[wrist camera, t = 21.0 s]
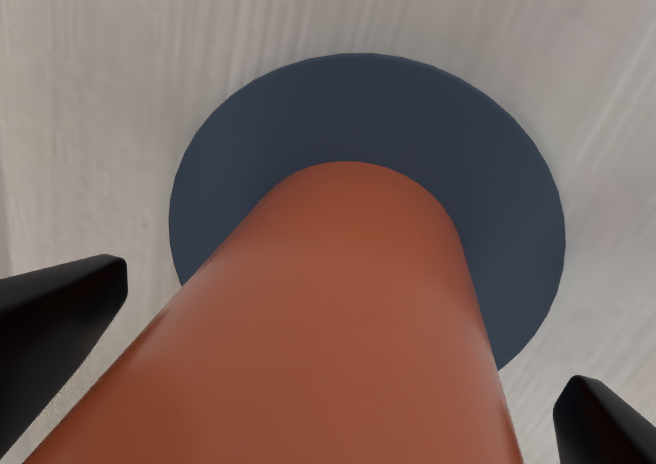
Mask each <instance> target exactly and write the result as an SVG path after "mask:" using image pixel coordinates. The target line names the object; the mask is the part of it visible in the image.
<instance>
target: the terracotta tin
mask: <svg viewBox="0 0 656 464" xmlns="http://www.w3.org/2000/svg"><path fill="white" fill-rule="evenodd" d="M22 464H524V462H523V458H522V455H521V451H520V448H519V444H518V441H517V437H516V434H515V430H514V427H513V423H512V420H511V416H510V413H509V409H508V406H507V402H506V399H505V395H504V392H503V388H502V385H501V381H500V377H499V374H498V370H497V367H496V363H495V360H494V356H493V353H492V349H491V346H490V342H489V339H488V335H487V332H486V328H485V325H484V321H483V318H482V314H481V311H480V307H479V304H478V300H477V297H476V293H475V290H474V286H473V282H472V279H471V275H470V272H469V268H468V265H467V261H466V258H465V254H464V251H463V247H462V244H461V241H460V238H459V235H458V232H457V229H456V227H455V225H454V223H453V221H452V219H451V217H450V216H449V215H448V213H447V212H446V210H445V209H444V207H443V206H442V205H441V204H440V203H439V202H438V200H437V199H436V198H435V197H434V196H433V195H432V194H431V193H430V192H428V191H427V190H426V189H425V188H423V187H422V186H421V185H420V184H418V183H417V182H415V181H413V180H412V179H410V178H408V177H407V176H405V175H403V174H401V173H398V172H396V171H394V170H392V169H389V168H386V167H382V166H379V165H376V164H370V163H364V162H356V161H338V162H327V163H323V164H318V165H314V166H310V167H308V168H305V169H303V170H300V171H297V172H296V173H294V174H292V175H290V176H288V177H286V178H285V179H283V180H282V181H281V182H279V183H278V184H277V185H275V186H274V187H273V188H272V189H271V190H270V191H269V192H268V193H267V194H266V195H265V196H264V197H263V198H262V199H261V200H260V202H259V203H258V204H257V205H256V206H255V207H254V208H253V209H252V210H251V211H250V213H249V214H248V215H247V216H246V217H245V218H244V219H243V220H242V221H241V223H240V224H239V225H238V226H237V227H236V228H235V229H234V230H233V231H232V232H231V234H230V235H229V236H228V237H227V238H226V239H225V240H224V241H223V242H222V244H221V245H220V246H219V247H218V248H217V249H216V250H215V251H214V252H213V253H212V255H211V256H210V257H209V258H208V259H207V260H206V261H205V262H204V263H203V264H202V266H201V267H200V268H199V269H198V270H197V271H196V272H195V273H194V274H193V276H192V277H191V278H190V279H189V280H188V281H187V282H186V283H185V284H184V285H183V287H182V288H181V289H180V290H179V291H178V292H177V293H176V294H175V295H174V297H173V298H172V299H171V300H170V301H169V302H168V303H167V304H166V305H165V306H164V308H163V309H162V310H161V311H160V312H159V313H158V314H157V315H156V316H155V317H154V319H153V320H152V321H151V322H150V323H149V324H148V325H147V326H146V327H145V329H144V330H143V331H142V332H141V333H140V334H139V335H138V336H137V337H136V338H135V340H134V341H133V342H132V343H131V344H130V345H129V346H128V347H127V348H126V350H125V351H124V352H123V353H122V354H121V355H120V356H119V357H118V358H117V359H116V361H115V362H114V363H113V364H112V365H111V366H110V367H109V368H108V369H107V370H106V372H105V373H104V374H103V375H102V376H101V377H100V378H99V379H98V380H97V382H96V383H95V384H94V385H93V386H92V387H91V388H90V389H89V390H88V391H87V393H86V394H85V395H84V396H83V397H82V398H81V399H80V400H79V401H78V403H77V404H76V405H75V406H74V407H73V408H72V409H71V410H70V411H69V412H68V414H67V415H66V416H65V417H64V418H63V419H62V420H61V421H60V422H59V423H58V425H57V426H56V427H55V428H54V429H53V430H52V431H51V432H50V433H49V435H48V436H47V437H46V438H45V439H44V440H43V441H42V442H41V443H40V444H39V446H38V447H37V448H36V449H35V450H34V451H33V452H32V453H31V454H30V456H29V457H28V458H27V459H26V460H25V461H24V462H23V463H22Z"/></svg>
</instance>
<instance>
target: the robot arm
mask: <svg viewBox="0 0 656 464" xmlns="http://www.w3.org/2000/svg"><path fill="white" fill-rule="evenodd" d="M127 294H128V281H127V264H126V261H125V260H124V259H123V258H120V257H117V256H113V255H109V254H101V255H97V256H93V257H89V258H85V259H81V260H77V261H73V262H69V263H65V264H61V265H57V266H53V267H48V268H44V269H40V270H36V271H32V272H28V273H24V274H20V275H16V276H12V277H8V278H4V279H0V460H1V458H2V457H3V456H4V455H5V454H6V452H7V451H8V450H9V449H10V448H11V447H12V445H13V444H14V443H15V442H16V441H17V440H18V439H19V437H20V436H21V435H22V434H23V433H24V432H25V430H26V429H27V428H28V427H29V426H30V424H31V423H32V422H33V421H34V420H35V419H36V417H37V416H38V415H39V414H40V413H41V412H42V410H43V409H44V408H45V407H46V406H47V405H48V403H49V402H50V401H51V400H52V399H53V398H54V396H55V395H56V394H57V393H58V392H59V391H60V389H61V388H62V387H63V386H64V385H65V383H66V382H67V381H68V380H69V379H70V378H71V376H72V375H73V374H74V373H75V372H76V370H77V369H78V368H79V367H80V365H81V364H82V363H83V362H84V360H85V359H86V358H87V356H88V355H89V353H90V352H91V351H92V349H93V348H94V346H95V345H96V343H97V342H98V340H99V339H100V338H101V336H102V335H103V333H104V332H105V330H106V329H107V327H108V326H109V325H110V323H111V322H112V320H113V319H114V317H115V316H116V314H117V313H118V312H119V310H120V309H121V307H122V306H123V304H124V303H125V301H126V298H127ZM553 420H554V427H555V433H556V439H557V445H558V451H559V458H560V464H656V427H655V426H653V425H652V424H651V423H650V422H649V421H647V420H646V419H645V418H644V417H643V416H641V415H640V414H639V413H638V412H637V411H636V410H634V409H633V408H632V407H631V406H630V405H628V404H627V403H626V402H625V401H624V400H622V399H621V398H620V397H619V396H618V395H616V394H615V393H614V392H613V391H612V390H610V389H609V388H608V387H607V386H606V385H605V384H603V383H602V382H601V381H599V380H597V379H593V378H589V377H585V376H581V375H575V376H573V377H572V378H571V379H570V380H569V381H568V383H567V385H566V386H565V388H564V390H563V391H562V393H561V394H560V396H559V398H558V399H557V401H556V403H555V405H554V408H553Z"/></svg>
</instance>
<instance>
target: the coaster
mask: <svg viewBox="0 0 656 464" xmlns="http://www.w3.org/2000/svg"><path fill="white" fill-rule="evenodd" d="M338 161H356V162H364V163H370V164H376V165H379V166H382V167H386V168H389V169H392V170H394V171H396V172H398V173H401V174H403V175H405V176H407V177H408V178H410V179H412V180H413V181H415V182H417V183H418V184H420V185H421V186H422V187H423V188H425V189H426V190H427V191H428V192H430V193H431V194H432V195H433V196H434V197H435V198H436V199H437V200H438V202H439V203H440V204H441V205H442V206H443V207H444V209H445V210H446V212H447V213H448V215H449V216H450V217H451V219H452V221H453V223H454V225H455V227H456V229H457V232H458V235H459V238H460V241H461V244H462V247H463V251H464V254H465V258H466V261H467V265H468V268H469V272H470V275H471V279H472V282H473V286H474V290H475V293H476V297H477V300H478V304H479V307H480V311H481V314H482V318H483V321H484V325H485V328H486V332H487V335H488V339H489V342H490V346H491V349H492V353H493V356H494V360H495V363H496V367H497V370H498V371H499V370H500V369H501V368H503V367H504V366H505V365H506V364H507V363H509V362H510V361H511V360H512V359H513V358H514V357H515V356H516V355H517V354H518V353H520V352H521V350H522V349H523V348H524V347H525V346H526V344H527V343H528V342H529V341H530V340H531V339H532V337H533V336H534V335H535V333H536V332H537V330H538V329H539V327H540V326H541V324H542V322H543V321H544V319H545V318H546V316H547V314H548V312H549V310H550V307H551V305H552V303H553V300H554V298H555V296H556V294H557V290H558V286H559V283H560V279H561V275H562V271H563V265H564V255H565V246H566V240H565V224H564V215H563V211H562V206H561V202H560V197H559V193H558V190H557V187H556V185H555V182H554V180H553V178H552V175H551V173H550V170H549V168H548V165H547V164H546V162H545V160H544V159H543V157H542V155H541V154H540V152H539V150H538V149H537V147H536V146H535V144H534V142H533V141H532V139H531V138H530V137H529V136H528V135H527V133H526V132H525V131H524V130H523V129H522V128H521V126H520V125H519V124H518V123H517V122H516V120H515V119H514V118H513V117H512V116H511V115H510V114H508V113H507V112H506V111H505V110H504V109H503V108H501V107H500V106H499V105H498V104H497V103H496V102H495V101H493V100H492V99H491V98H490V97H489V96H487V95H485V94H484V93H482V92H481V91H479V90H478V89H476V88H474V87H473V86H471V85H470V84H468V83H467V82H465V81H464V80H462V79H460V78H458V77H456V76H454V75H452V74H449V73H447V72H445V71H443V70H440V69H438V68H436V67H434V66H431V65H427V64H424V63H420V62H417V61H413V60H410V59H406V58H403V57H396V56H388V55H381V54H374V53H351V54H336V55H330V56H323V57H317V58H310V59H306V60H303V61H300V62H297V63H293V64H290V65H287V66H284V67H280V68H278V69H276V70H274V71H272V72H270V73H268V74H266V75H263V76H261V77H259V78H257V79H255V80H253V81H252V82H250V83H249V84H247V85H246V86H244V87H243V88H241V89H240V90H239V91H237V92H236V93H234V94H233V95H231V96H230V97H229V98H228V99H227V100H226V101H225V102H224V103H223V104H221V105H220V106H219V107H218V108H217V109H216V110H215V111H214V112H213V113H212V114H211V115H210V116H209V118H208V119H207V120H206V121H205V123H204V124H203V125H202V126H201V128H200V129H199V130H198V131H197V133H196V134H195V136H194V138H193V139H192V141H191V143H190V145H189V146H188V148H187V150H186V152H185V153H184V156H183V158H182V161H181V163H180V166H179V169H178V171H177V174H176V176H175V181H174V185H173V190H172V194H171V198H170V210H169V236H170V246H171V251H172V256H173V261H174V265H175V268H176V271H177V274H178V277H179V280H180V283H181V285H182V287H183V285H184V284H185V283H186V282H187V281H188V280H189V279H190V278H191V277H192V276H193V274H194V273H195V272H196V271H197V270H198V269H199V268H200V267H201V266H202V264H203V263H204V262H205V261H206V260H207V259H208V258H209V257H210V256H211V255H212V253H213V252H214V251H215V250H216V249H217V248H218V247H219V246H220V245H221V244H222V242H223V241H224V240H225V239H226V238H227V237H228V236H229V235H230V234H231V232H232V231H233V230H234V229H235V228H236V227H237V226H238V225H239V224H240V223H241V221H242V220H243V219H244V218H245V217H246V216H247V215H248V214H249V213H250V211H251V210H252V209H253V208H254V207H255V206H256V205H257V204H258V203H259V202H260V200H261V199H262V198H263V197H264V196H265V195H266V194H267V193H268V192H269V191H270V190H271V189H272V188H273V187H274V186H275V185H277V184H278V183H279V182H281V181H282V180H283V179H285V178H286V177H288V176H290V175H292V174H294V173H296V172H297V171H300V170H303V169H305V168H308V167H310V166H314V165H318V164H323V163H327V162H338Z"/></svg>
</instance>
